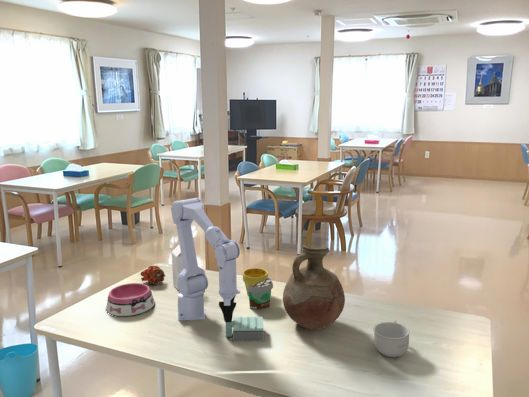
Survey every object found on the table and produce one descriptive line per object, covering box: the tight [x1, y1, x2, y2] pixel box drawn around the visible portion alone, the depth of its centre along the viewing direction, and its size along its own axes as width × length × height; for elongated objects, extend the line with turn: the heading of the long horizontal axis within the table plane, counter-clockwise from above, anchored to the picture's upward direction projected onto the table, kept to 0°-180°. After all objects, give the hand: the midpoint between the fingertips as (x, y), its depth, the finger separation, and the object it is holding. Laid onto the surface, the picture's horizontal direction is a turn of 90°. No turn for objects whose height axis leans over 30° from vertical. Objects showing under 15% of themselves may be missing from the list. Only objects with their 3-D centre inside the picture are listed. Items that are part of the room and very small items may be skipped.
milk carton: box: [171, 243, 191, 291], centre depth 193 cm, size 7×7×19 cm
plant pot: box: [242, 267, 269, 297], centre depth 185 cm, size 10×10×10 cm
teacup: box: [373, 319, 411, 358], centre depth 144 cm, size 14×11×8 cm
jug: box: [282, 244, 346, 331], centre depth 157 cm, size 22×22×30 cm
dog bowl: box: [105, 282, 156, 318], centre depth 175 cm, size 18×19×7 cm
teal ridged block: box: [224, 316, 264, 338], centre depth 152 cm, size 12×8×6 cm, turn 92°
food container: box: [246, 276, 274, 310], centre depth 173 cm, size 12×6×10 cm, turn 143°
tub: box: [232, 330, 264, 343], centre depth 152 cm, size 10×8×4 cm
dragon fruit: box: [140, 265, 166, 286], centre depth 198 cm, size 8×8×12 cm
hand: (228, 316), depth 151 cm, fingers open, 7 cm apart
